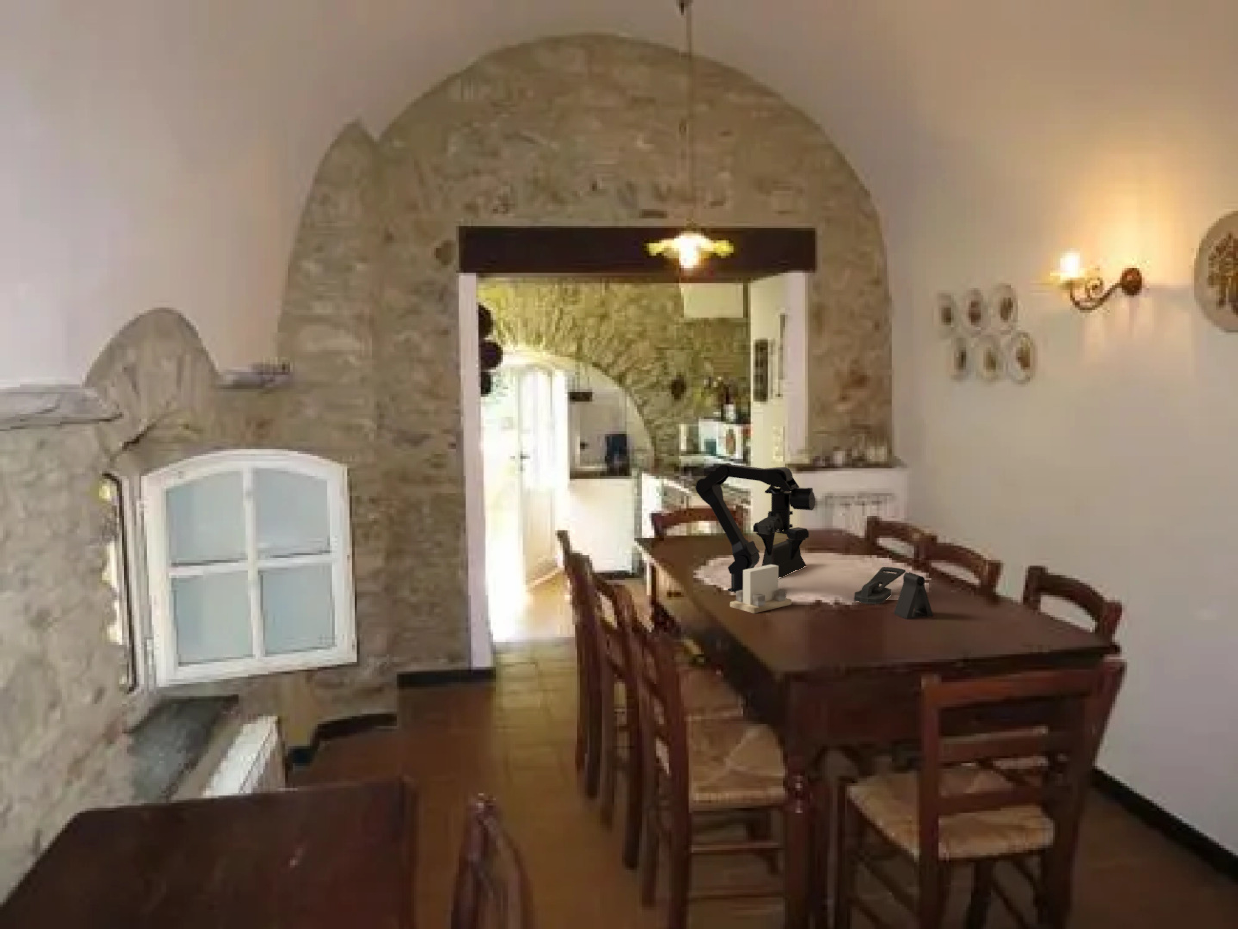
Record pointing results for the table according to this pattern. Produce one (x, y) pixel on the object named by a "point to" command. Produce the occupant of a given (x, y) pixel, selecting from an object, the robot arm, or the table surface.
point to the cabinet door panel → (760, 582)
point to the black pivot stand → (913, 598)
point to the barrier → (783, 559)
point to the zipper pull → (872, 590)
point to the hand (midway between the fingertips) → (780, 557)
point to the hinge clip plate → (762, 608)
